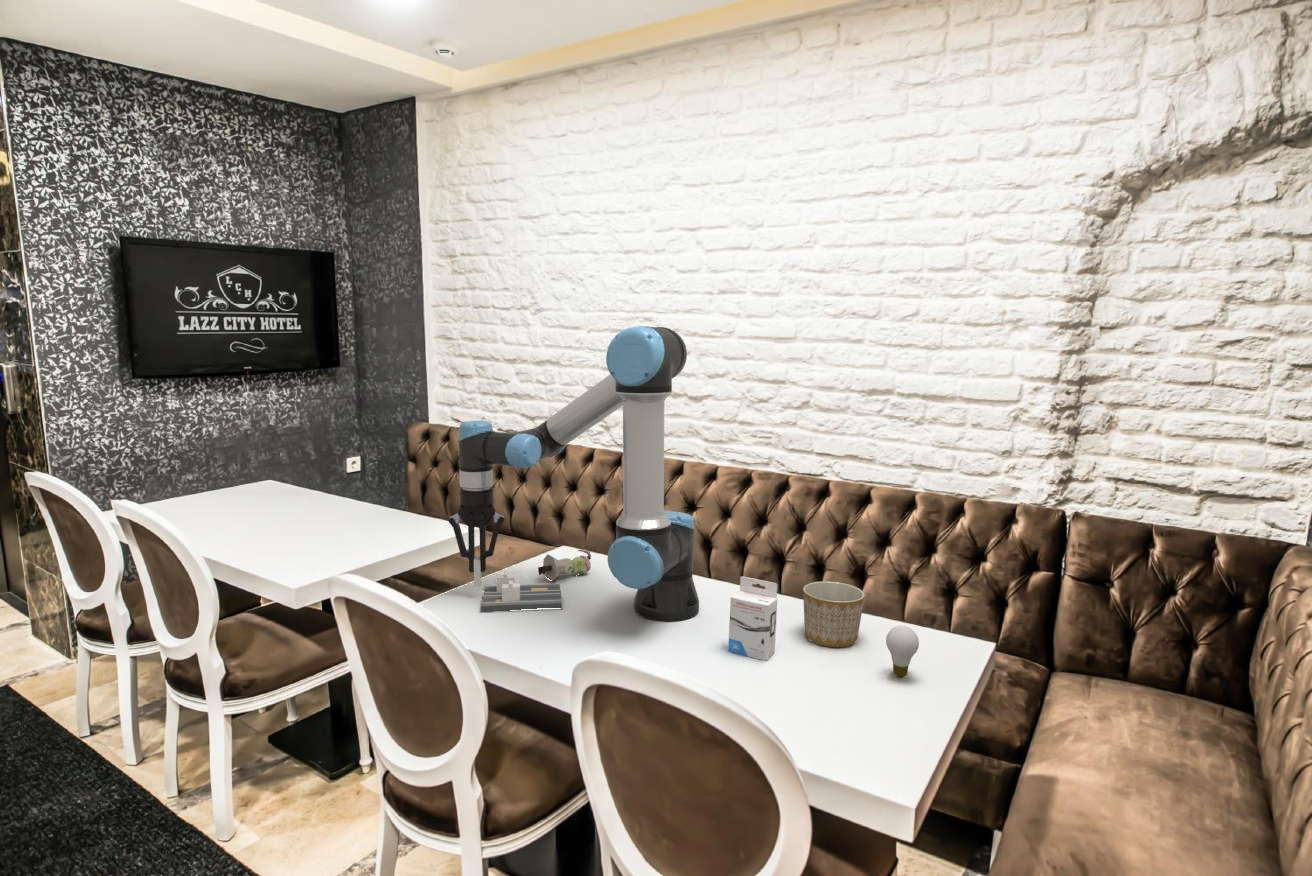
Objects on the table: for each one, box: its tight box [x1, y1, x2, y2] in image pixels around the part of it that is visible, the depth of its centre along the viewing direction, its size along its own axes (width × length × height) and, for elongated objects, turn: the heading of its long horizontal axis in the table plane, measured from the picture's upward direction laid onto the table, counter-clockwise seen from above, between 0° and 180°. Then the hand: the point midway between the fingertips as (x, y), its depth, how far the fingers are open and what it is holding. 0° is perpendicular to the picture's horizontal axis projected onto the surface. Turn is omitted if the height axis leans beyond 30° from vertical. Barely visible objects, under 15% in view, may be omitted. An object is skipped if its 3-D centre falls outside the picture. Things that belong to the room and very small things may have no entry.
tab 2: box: [502, 581, 521, 602], centre depth 173 cm, size 4×2×4 cm, turn 99°
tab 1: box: [496, 570, 515, 592], centre depth 179 cm, size 4×2×4 cm, turn 99°
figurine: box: [537, 548, 592, 582], centre depth 195 cm, size 9×7×15 cm
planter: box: [802, 580, 865, 648], centre depth 159 cm, size 13×13×10 cm
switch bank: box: [481, 582, 563, 613], centre depth 177 cm, size 18×12×2 cm, turn 99°
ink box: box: [727, 575, 778, 662], centre depth 151 cm, size 8×5×15 cm, turn 60°
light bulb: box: [885, 625, 920, 679], centre depth 142 cm, size 6×6×10 cm
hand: (477, 584), depth 178 cm, fingers closed
